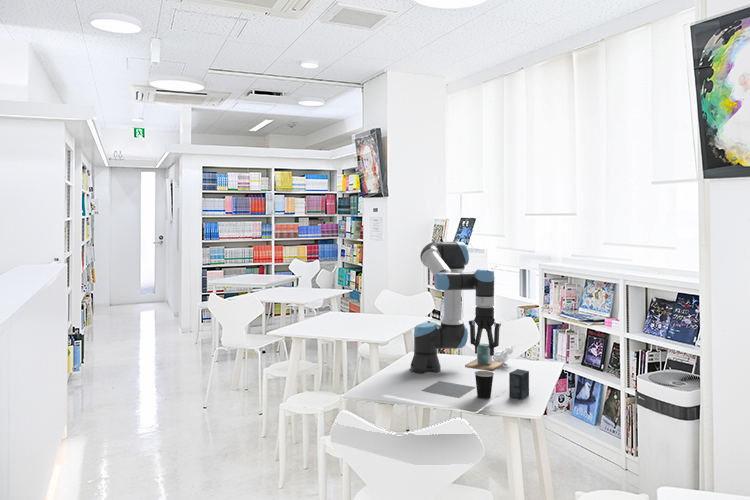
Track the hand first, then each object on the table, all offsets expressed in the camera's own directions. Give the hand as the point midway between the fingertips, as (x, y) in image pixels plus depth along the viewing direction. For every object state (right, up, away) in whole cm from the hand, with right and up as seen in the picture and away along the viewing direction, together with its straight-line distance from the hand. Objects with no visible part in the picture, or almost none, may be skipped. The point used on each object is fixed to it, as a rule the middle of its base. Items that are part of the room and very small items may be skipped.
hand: (484, 362), depth 218 cm
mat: (-13, -15, +12) cm, 23 cm away
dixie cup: (0, -16, +1) cm, 16 cm away
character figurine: (+22, -14, +56) cm, 61 cm away
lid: (0, -2, 0) cm, 2 cm away
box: (+16, -16, +5) cm, 23 cm away
